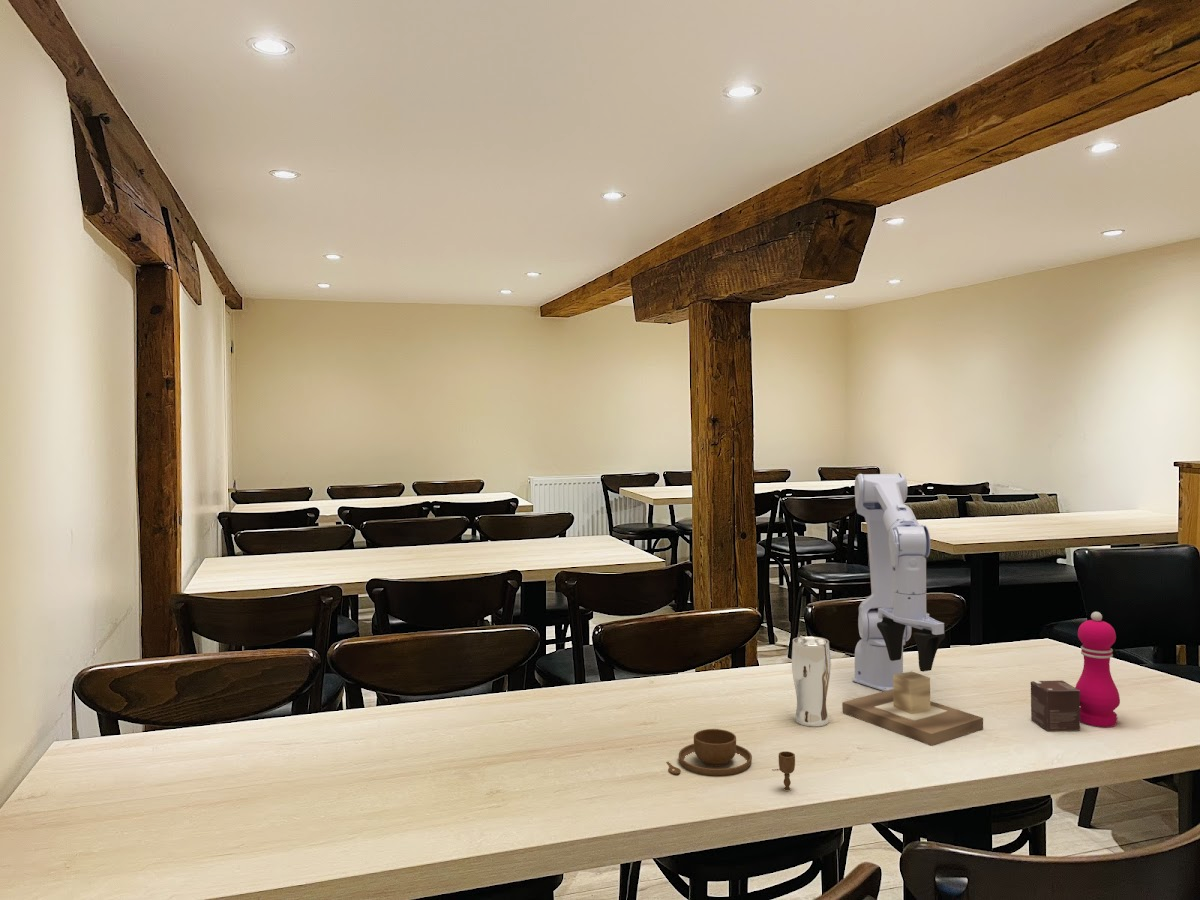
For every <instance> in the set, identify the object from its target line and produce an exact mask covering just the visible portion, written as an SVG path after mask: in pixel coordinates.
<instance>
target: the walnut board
mask: <svg viewBox="0 0 1200 900" xmlns="http://www.w3.org/2000/svg"><path fill="white" fill-rule="evenodd" d="M841 708H842V709H841V710H842V711H841V712H843V714H845V713H846V714H845V715H847V714H848V715H847V716H850V715H851V717H852V718H853V717H854V718H856V719H859V720H860V721H861V720H862V721H865V722H867V723H870V724H872V725H875V726H877V727H880V728H883V729H885V730H889V731H891V732H894V733H896V734H899V735H902V736H905V737H908V738H910V739H913V740H915V741H918V742H921V743H924V744H927V745H929V746H935V745H938V744H941V743H945V742H948V741H950V740H953V739H957V738H959V737H963V736H965V735H968V734H973V733H975V732H978V731H982V730H984V717H982V716H978V715H975V714H972V713H970V712H966V711H963V710H959V709H956V708H954V707H950V706H947V705H945V704H940V703H939V702H934V701H931V700H930V710H929V711H924V712H919V713H914V714H910V713H908V712H905V711H903V710H900V709H898V708H896V707H894V702H893V689H891V690H887V691H879V692H877V693H872V694H869V695H864V696H861V697H857V698H852V699H850V700H845V701H843V702H842V706H841Z"/></svg>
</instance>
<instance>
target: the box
mask: <svg viewBox="0 0 1200 900" xmlns="http://www.w3.org/2000/svg"><path fill="white" fill-rule="evenodd" d="M1075 687H1076V686H1073V685H1071V684H1069V683H1068V682H1066V681H1064V680H1033V681H1032V680H1031V681H1030V711H1031V712H1030V714H1031V716H1030V720H1031V721H1032V722H1033V723H1035V724H1037V725H1038V726H1040V728H1043V730H1046V731H1048V732H1064V731H1065V732H1067V731H1068V732H1069V731H1072V732H1073V731H1076V732H1077V731H1081V722H1080V690H1078V689H1076V688H1075Z"/></svg>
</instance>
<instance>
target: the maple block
mask: <svg viewBox="0 0 1200 900" xmlns="http://www.w3.org/2000/svg"><path fill="white" fill-rule="evenodd" d="M930 701H931V677H928V676H926V675H923V674H920V673H917V672H916V671H912V670H911V671H908V672H907V671H906V672H903V673H900V674H894V675H893V702H894V707H896V708H898V709H900V710H903V711H905V712H908V713H910V714H914V713H919V712H924V711H929V710H930Z"/></svg>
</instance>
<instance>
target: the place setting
mask: <svg viewBox="0 0 1200 900" xmlns="http://www.w3.org/2000/svg"><path fill="white" fill-rule="evenodd" d="M692 752H693V753H694V754H695V756H696V757H697V758H698V759H699V760H701V761H703V764H704V765H706V766H709V768H708V767H702V766H697V765H694V764H691V763H689V762H687V761H685V758H686V757H687V756H689V755H691V754H693V753H692ZM690 753H691V754H690ZM736 753H737V754H736ZM688 754H689V755H688ZM739 754H740V755H739ZM686 755H687V756H686ZM736 755H739V756H741V757H742V758H744V760H747V761H746V762H745V763H743V764H741V765H738V766H734V767H729V768H710V767H722V766H725V765H727V764H728V762H730V761H731V760H732V759H733V758H735V756H736ZM685 756H686V757H685ZM678 759H679V762H680V764H681V766H682V767H683V768H685V769H686V770H688V771H690V772H693V773H695V774H699V775H703V776H704V775H705V776H712V777H713V776H714V777H715V776H716V777H726V776H731V775H737V774H740V773H743V772H745V771H746V770H747V769H749V767H751V765H752V761H753V755H752V752H750V750H748V749H747V748H745V747H743V746H740V745H738V744H737V736H736V734H735V733H733V732H731V731H729V730H725V729H719V728H710V729H709V728H706V729H701V730H699V731H697V732H695V733H694V735H693V743H691V744H689V745H686V746H684V747H682V748H681V749H680V750H679V752H678ZM669 762H670V761H665V763H666V764H667V766H669V767H668V769H667V770H668V772H669V773H670V774H671V775H674V776H675V775H680V774H681V769H680V768H679V767H676V766H674V765H672V763H671V762H670V763H669ZM778 766H779V767H778V768H774V769H773V768H772V769H771V770H772V771H780V772H781V773H782V774H783V776H784V779H783V785H784V787H783V790H784V789H785V790H784V791H786V790H790V789H791V787H790V786H791V784H792V783H791V782H792V781H791V779H790V776H791V774H792V773H793V772H795V767H796V754H795V753H794V752H791V751H786V750H785V751H780V752H778ZM790 791H791V790H790Z"/></svg>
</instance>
